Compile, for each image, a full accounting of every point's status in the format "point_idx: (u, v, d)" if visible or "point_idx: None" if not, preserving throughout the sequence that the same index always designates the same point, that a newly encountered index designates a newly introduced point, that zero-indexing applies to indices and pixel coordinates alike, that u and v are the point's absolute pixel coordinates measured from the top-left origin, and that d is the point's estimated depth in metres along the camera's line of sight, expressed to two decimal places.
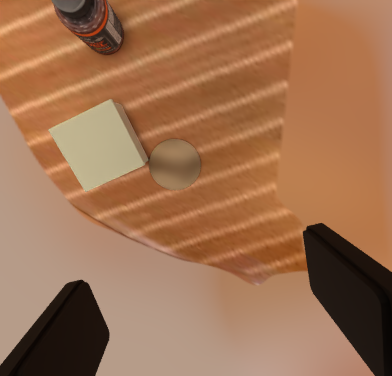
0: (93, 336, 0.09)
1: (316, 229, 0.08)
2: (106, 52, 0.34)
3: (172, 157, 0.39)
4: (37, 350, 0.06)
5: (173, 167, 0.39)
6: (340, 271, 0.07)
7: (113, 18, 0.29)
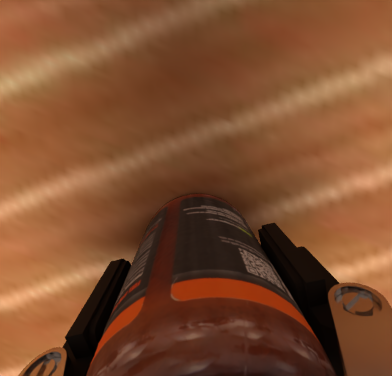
0: None
1: (267, 228, 0.09)
2: None
3: None
4: (101, 312, 0.07)
5: None
6: (278, 265, 0.08)
7: None
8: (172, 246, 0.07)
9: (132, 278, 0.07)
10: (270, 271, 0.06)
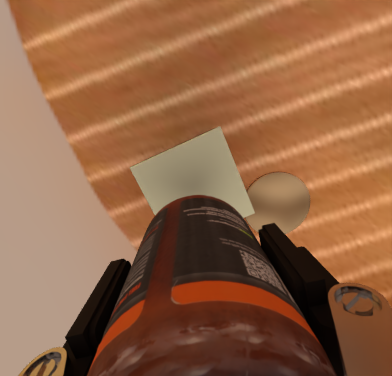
0: None
1: (267, 228, 0.09)
2: None
3: (274, 195, 0.30)
4: (101, 312, 0.07)
5: (274, 208, 0.30)
6: (278, 265, 0.08)
7: None
8: (172, 248, 0.07)
9: (132, 280, 0.06)
10: (271, 273, 0.06)
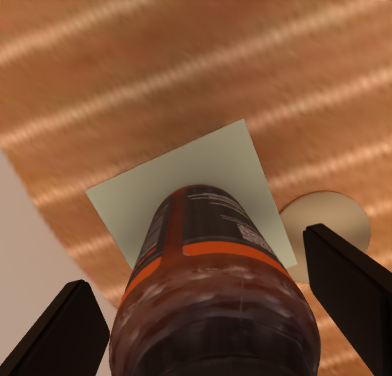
0: (93, 336, 0.09)
1: (316, 229, 0.08)
2: None
3: None
4: (38, 349, 0.06)
5: None
6: (339, 271, 0.07)
7: None
8: (180, 222, 0.08)
9: (147, 248, 0.08)
10: (263, 242, 0.08)
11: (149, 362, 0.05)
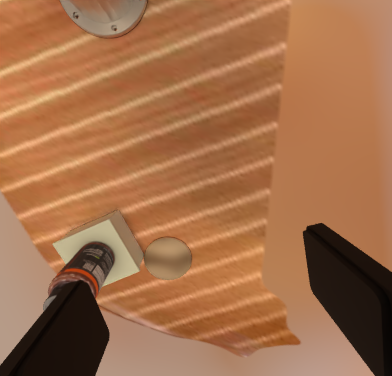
0: (93, 336, 0.09)
1: (316, 229, 0.08)
2: None
3: (165, 253, 0.42)
4: (37, 350, 0.06)
5: (166, 261, 0.43)
6: (340, 271, 0.07)
7: (104, 277, 0.32)
8: (72, 261, 0.31)
9: None
10: (91, 267, 0.30)
11: (53, 291, 0.27)
